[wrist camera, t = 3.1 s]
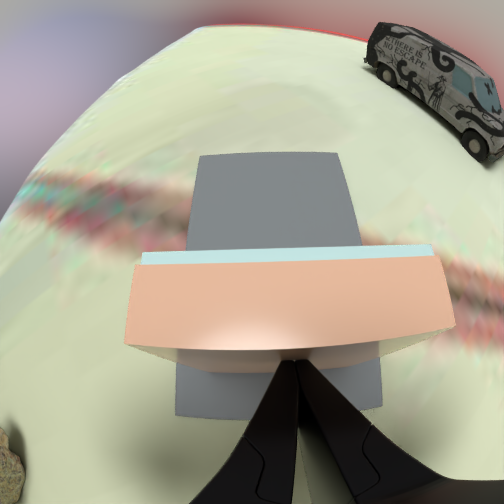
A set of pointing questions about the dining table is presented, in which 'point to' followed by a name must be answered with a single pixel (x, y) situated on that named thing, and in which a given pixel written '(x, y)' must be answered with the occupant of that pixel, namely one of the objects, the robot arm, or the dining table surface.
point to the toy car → (441, 84)
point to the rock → (9, 472)
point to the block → (286, 305)
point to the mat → (266, 237)
